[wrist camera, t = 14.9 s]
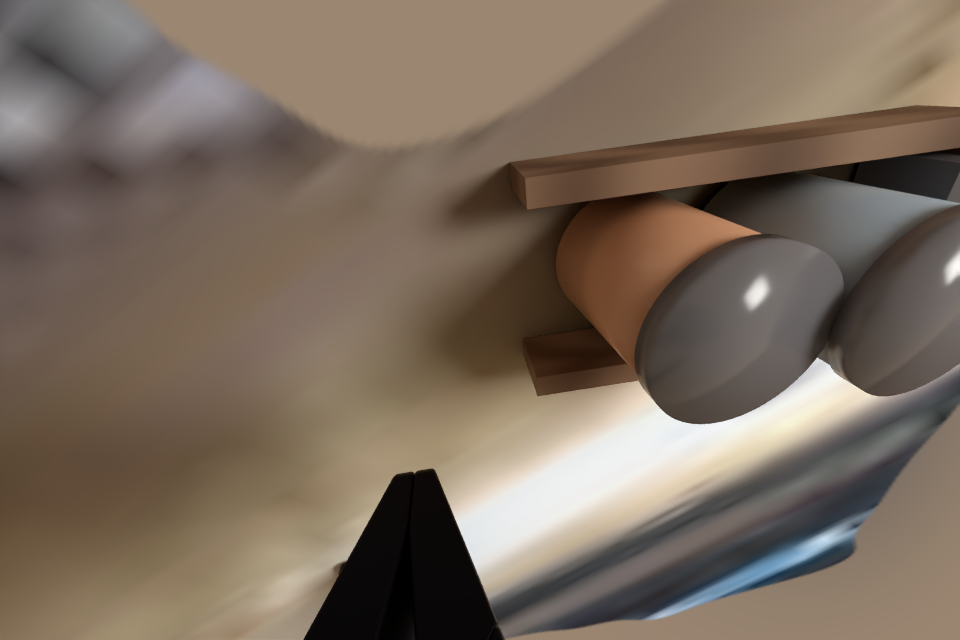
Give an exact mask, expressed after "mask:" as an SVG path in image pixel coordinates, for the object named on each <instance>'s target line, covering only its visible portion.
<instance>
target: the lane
mask: <svg viewBox="0 0 960 640" xmlns="http://www.w3.org/2000/svg"><path fill="white" fill-rule="evenodd" d="M932 151H935V152H942V153H950V154H957V155H960V107H944V106H920V105H916V106H909V107H902V108H894V109H887V110H880V111H873V112H866V113H859V114H852V115H844V116H837V117H830V118H823V119H816V120H809V121H802V122H795V123H787V124H780V125H773V126H766V127H759V128H752V129H745V130H737V131H730V132H723V133H716V134H709V135H702V136H695V137H688V138H680V139H673V140H666V141H659V142H652V143H645V144H638V145H630V146H623V147H616V148H609V149H602V150H595V151H588V152H581V153H573V154H566V155H559V156H552V157H545V158H538V159H531V160H524V161H516V162H510V172H511V186H512V190H513V192H514V193H515V194H516V196H517V197H518V198H519V200H520V201H521V202H522V204H523V205H524V206H525V208H526V209H527V210H528V209H535V208H542V207H549V206H556V205H563V204H570V203H577V202H584V201H591V200H598V199H605V198H612V197H619V196H626V195H633V194H640V193H647V192H654V191H661V190H668V189H675V188H682V187H689V186H696V185H702V184H709V183H716V182H723V181H730V180H737V179H744V178H751V177H758V176H765V175H772V174H779V173H786V172H793V171H800V170H807V169H814V168H821V167H828V166H835V165H842V164H849V163H856V162H863V161H870V160H877V159H884V158H890V157H897V156H904V155H911V154H918V153H925V152H932ZM523 348H524V357H525V360H526V363H527V366H528V369H529V372H530V375H531V378H532V381H533V384H534V387H535V390H536V393H537V396H542V395H549V394H555V393H561V392H568V391H574V390H581V389H587V388H593V387H600V386H606V385H612V384H619V383H625V382H632V381H638V378H637V374H636V373H635V372H634V370H633V369H632V368H631V367H630V366H629V365H628V364H627V363H626V362H625V360H624V359H623V358H622V357H621V356H620V355H619V354H618V353H617V352H616V350H615V349H614V348H613V347H612V346H611V345H610V344H609V343H608V342H607V340H606V339H605V338H604V337H603V336H602V335H601V334H600V333H599V332H598V330H597V329H596V328H590V329H584V330H577V331H571V332H564V333H558V334H551V335H545V336H538V337H531V338H525V339H523Z"/></svg>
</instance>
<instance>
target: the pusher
mask: <svg viewBox="0 0 960 640" xmlns="http://www.w3.org/2000/svg"><path fill="white" fill-rule="evenodd" d="M853 183H857V184H862V185H868V186H873V187H878V188H883V189H888V190H894V191H899V192H904V193H909V194H914V195H920V196H925V197H930V198H935V199H940V200H946V201H951V202H956V203H960V155H957V154H950V153H942V152H935V151H932V152H925V153H918V154H911V155H904V156H897V157H890V158H884V159H877V160H870V161H863V162H860V164H859V166H858V169H857V172H856V175H855V178H854V181H853Z"/></svg>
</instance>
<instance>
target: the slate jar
mask: <svg viewBox="0 0 960 640" xmlns="http://www.w3.org/2000/svg"><path fill="white" fill-rule="evenodd" d="M703 211H704V212H707V213H709V214H712V215H715V216H717V217H720V218H722V219H725V220H728V221H730V222H733V223H735V224H738V225H740V226H743V227H746V228H748V229H751V230H753V231H756V232H759V233H761V234H777V235H782V236H785V237H789V238H792V239H794V240H797V241H800V242H803V243H805V244H808V245H811V246H813V247H816V248H818V249H820V250H822V251H824V252H826V253H827V254H828V255H829V256H831V257H832V258H833V259H834V261H835V262H836V264H837V265H838V266H839V269H840V271H841V273H842V277H843V282H844V299H843V305H842V307H841V309H840V311H839V312H838V315H837V317H836V319H835V321H834V324H833V327H832V330H831V333H830V337H829V341H828V342H827V344H826V345H825V347H824V349H823V350H822V351H821V353H820V354H819V355H818V358H819V359H821V360H823V361H824V362H826V363H828V364H829V365H830V366H831V368H832V369H833V371H834V372H835V373H836V374H837V375H839V376H840V377H842V378H843V379H845V380H846V381H848V382H850V383H851V384H853V385H855V386H856V387H858V388H860V389H861V390H863V391H865V392H866V393H869V394H871V395H875V396H892V395H898V394H902V393H905V392H908V391H911V390H914V389H916V388H919V387H921V386H923V385H925V384H927V383H929V382H931V381H933V380H935V379H937V378H938V377H940V376H942V375H943V374H945V373H946V372H948V371H950V370H951V369H952V368H954V367H955V366H957V365H958V364H960V203H956V202H951V201H946V200H940V199H935V198H930V197H925V196H920V195H914V194H909V193H904V192H899V191H894V190H888V189H883V188H878V187H873V186H868V185H862V184H857V183H852V182H847V181H842V180H836V179H831V178H826V177H821V176H816V175H811V174H805V173H800V172H795V171H793V172H786V173H779V174H772V175H765V176H758V177H751V178H744V179H737V180H732V181H731V182H730V183H728V184H727V185H726V186H724V187H723V188H722V189H721V190H720V191H719V192H718V193H717V194H716V195H715V196H714V197H713V198H712V199H711V200H710V202H709V203H708V204H707V205H706V207H705V208H704V210H703Z"/></svg>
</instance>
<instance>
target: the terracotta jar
mask: <svg viewBox="0 0 960 640" xmlns="http://www.w3.org/2000/svg"><path fill="white" fill-rule="evenodd" d="M556 273H557V278H558V281H559V284H560V286H561V288H562V290H563V292H564V293H565V295H566V296H567V297H568V298H569V299H570V300H571V302H572V303H573V304H574V305H575V306H576V307H577V308H578V309H579V310H580V312H581V313H582V314H583V315H584V316H585V317H586V318H587V319H588V320H589V322H590V323H591V324H592V325H593V326H594V327H595V328H596V329H597V330H598V332H599V333H600V334H601V335H602V336H603V337H604V338H605V339H606V340H607V342H608V343H609V344H610V345H611V346H612V347H613V348H614V349H615V350H616V352H617V353H618V354H619V355H620V356H621V357H622V358H623V359H624V360H625V362H626V363H627V364H628V365H629V366H630V367H631V368H632V369H633V370H634V372H635V373H636V374H637V378H638V380H639V382H640V384H641V386H642V387H643V389H644V390H645V391H646V392H647V394H648V395H649V396H650V397H651V398H652V399H653V400H654V402H655V403H656V404H657V405H658V406H659V407H660V408H661V409H662V410H663V411H664V412H665V413H666V414H667V415H669V416H670V417H672V418H674V419H676V420H679V421H682V422H686V423H691V424H711V423H716V422H722V421H726V420H729V419H733V418H735V417H738V416H741V415H744V414H746V413H748V412H750V411H752V410H754V409H756V408H758V407H760V406H762V405H763V404H765V403H767V402H768V401H770V400H771V399H773V398H774V397H776V396H777V395H779V394H780V393H781V392H783V391H784V390H785V389H787V388H788V387H789V386H790V385H791V384H792V383H794V382H795V381H796V380H797V379H798V378H799V377H800V376H801V375H802V374H803V373H804V372H805V371H806V370H807V369H808V368H809V366H810V365H811V364H812V363H813V362H814V361H815V359H816V358H817V357H818V355H819V354H820V353H821V351H822V350H823V349H824V347H825V345H826V344H827V342H828V341H829V337H830V333H831V330H832V327H833V324H834V321H835V319H836V317H837V315H838V312H839V311H840V309H841V307H842V305H843V299H844V282H843V277H842V273H841V271H840V269H839V266H838V265H837V264H836V262H835V261H834V259H833V258H832V257H831V256H829V255H828V254H827V253H826V252H824V251H822V250H820V249H818V248H816V247H813V246H811V245H808V244H805V243H803V242H800V241H797V240H794V239H792V238H789V237H785V236H782V235H777V234H761V233H759V232H756V231H753V230H751V229H748V228H746V227H743V226H740V225H738V224H735V223H733V222H730V221H728V220H725V219H722V218H720V217H717V216H715V215H712V214H709V213H707V212H704V211H702V210H699V209H696V208H694V207H691V206H689V205H686V204H683V203H681V202H678V201H676V200H673V199H670V198H668V197H665V196H663V195H660V194H657V193H655V192H647V193H640V194H633V195H626V196H619V197H612V198H605V199H598V200H592V201H591V202H590V203H588V204H587V205H586V206H584V207H583V208H582V209H581V210H580V211H579V212H578V213H577V214H576V216H575V217H574V218H573V219H572V221H571V222H570V224H569V225H568V227H567V228H566V230H565V232H564V234H563V236H562V238H561V241H560V244H559V247H558V251H557V257H556Z"/></svg>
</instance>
